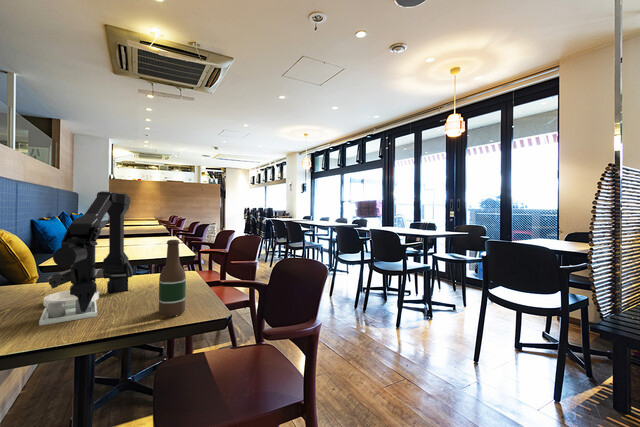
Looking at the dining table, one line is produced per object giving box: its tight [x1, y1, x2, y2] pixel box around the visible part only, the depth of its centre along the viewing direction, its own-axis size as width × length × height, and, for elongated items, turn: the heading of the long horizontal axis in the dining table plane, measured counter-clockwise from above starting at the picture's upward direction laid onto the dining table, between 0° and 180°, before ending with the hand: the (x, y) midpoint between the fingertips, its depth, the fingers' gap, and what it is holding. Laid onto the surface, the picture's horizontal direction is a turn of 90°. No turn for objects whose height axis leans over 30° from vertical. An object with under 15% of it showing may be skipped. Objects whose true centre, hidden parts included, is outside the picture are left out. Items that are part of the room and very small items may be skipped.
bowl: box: [43, 289, 100, 308], centre depth 106 cm, size 15×15×3 cm
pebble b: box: [47, 301, 66, 318], centre depth 91 cm, size 4×4×4 cm
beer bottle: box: [158, 239, 187, 318], centre depth 97 cm, size 8×8×24 cm
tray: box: [38, 300, 98, 327], centre depth 93 cm, size 13×14×2 cm
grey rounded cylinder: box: [75, 299, 92, 314], centre depth 95 cm, size 4×4×4 cm
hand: (83, 309), depth 95 cm, fingers closed on grey rounded cylinder, 4 cm apart
